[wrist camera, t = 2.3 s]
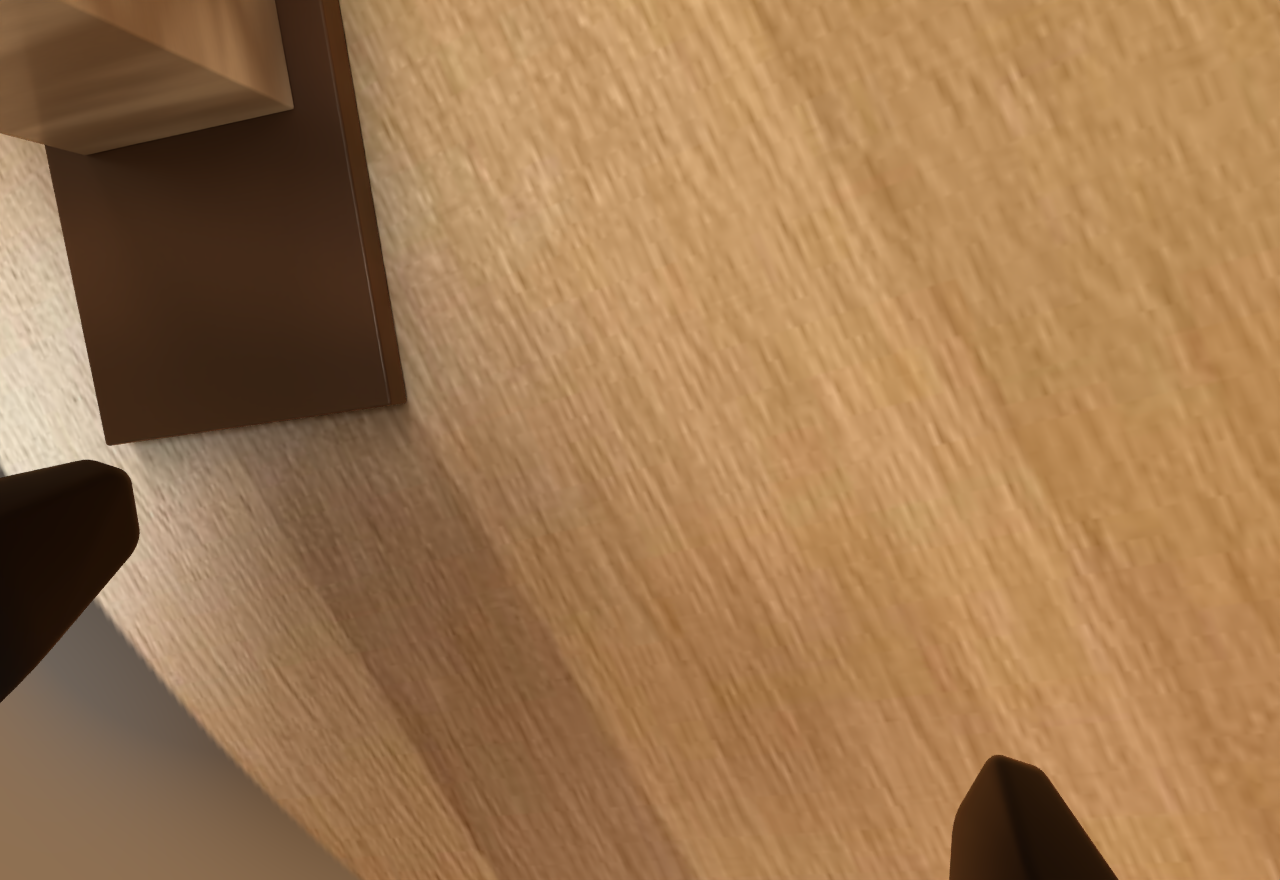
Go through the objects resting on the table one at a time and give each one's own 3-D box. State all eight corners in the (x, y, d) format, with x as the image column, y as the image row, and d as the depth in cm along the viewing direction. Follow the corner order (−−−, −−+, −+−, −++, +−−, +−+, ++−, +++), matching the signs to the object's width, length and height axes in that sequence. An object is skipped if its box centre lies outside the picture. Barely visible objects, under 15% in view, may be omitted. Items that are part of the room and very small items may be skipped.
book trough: (408, 402, 23) (-49, 478, 11) (132, 442, 25) (-546, 548, 12) (311, -162, 22) (-348, -853, 9) (26, -79, 24) (-862, -566, 11)
